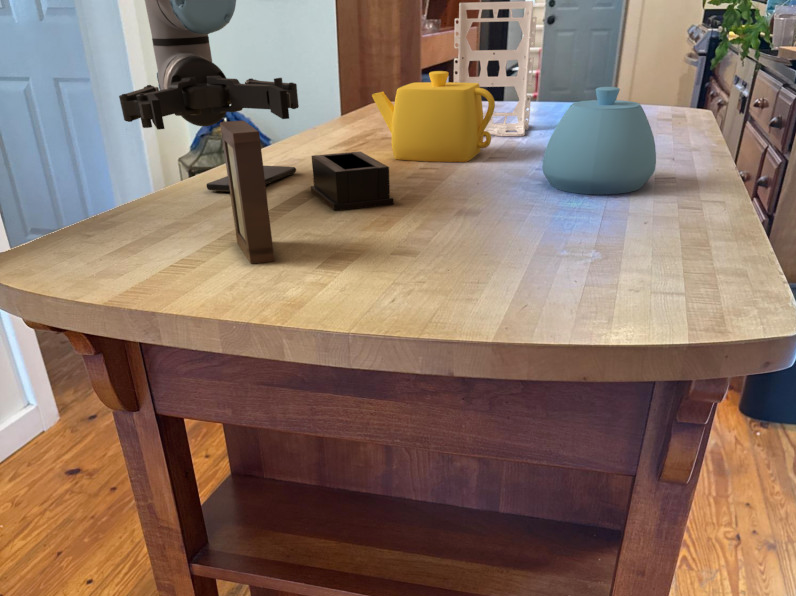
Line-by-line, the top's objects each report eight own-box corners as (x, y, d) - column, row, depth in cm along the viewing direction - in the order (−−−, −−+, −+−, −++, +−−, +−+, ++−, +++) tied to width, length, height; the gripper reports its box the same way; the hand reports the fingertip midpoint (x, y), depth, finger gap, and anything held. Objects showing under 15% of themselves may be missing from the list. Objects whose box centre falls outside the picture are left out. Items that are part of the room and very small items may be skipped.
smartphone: (297, 166, 113) (247, 186, 101) (297, 173, 113) (248, 193, 102) (257, 164, 115) (204, 183, 103) (257, 171, 115) (205, 190, 104)
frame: (237, 244, 83) (219, 122, 76) (259, 241, 83) (244, 120, 76) (250, 264, 77) (232, 133, 70) (274, 261, 77) (259, 131, 70)
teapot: (363, 159, 121) (359, 75, 114) (387, 146, 130) (384, 67, 123) (484, 164, 116) (487, 75, 109) (499, 150, 125) (503, 67, 118)
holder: (310, 191, 103) (307, 156, 100) (365, 186, 105) (364, 151, 102) (334, 211, 94) (331, 172, 91) (393, 204, 96) (392, 166, 93)
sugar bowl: (566, 169, 111) (576, 79, 104) (666, 179, 104) (683, 83, 98) (522, 189, 101) (529, 91, 94) (630, 201, 94) (646, 96, 88)
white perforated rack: (449, 136, 137) (451, 3, 125) (454, 125, 148) (457, 2, 136) (528, 136, 136) (538, 1, 124) (528, 125, 147) (536, 0, 135)
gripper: (294, 115, 102) (336, 138, 86) (104, 130, 95) (111, 159, 79) (287, 50, 97) (331, 61, 81) (88, 61, 91) (92, 76, 75)
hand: (222, 109), depth 80 cm, fingers open, 13 cm apart
